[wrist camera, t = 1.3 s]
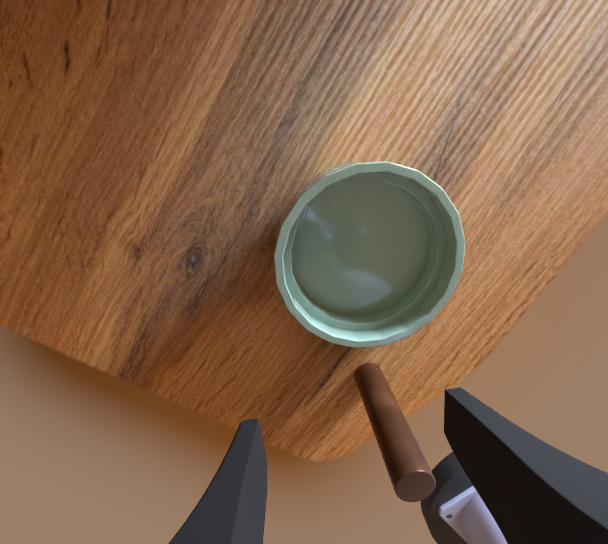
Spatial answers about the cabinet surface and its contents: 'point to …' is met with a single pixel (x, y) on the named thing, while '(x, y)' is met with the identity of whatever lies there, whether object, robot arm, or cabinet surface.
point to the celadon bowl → (368, 253)
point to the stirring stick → (394, 436)
